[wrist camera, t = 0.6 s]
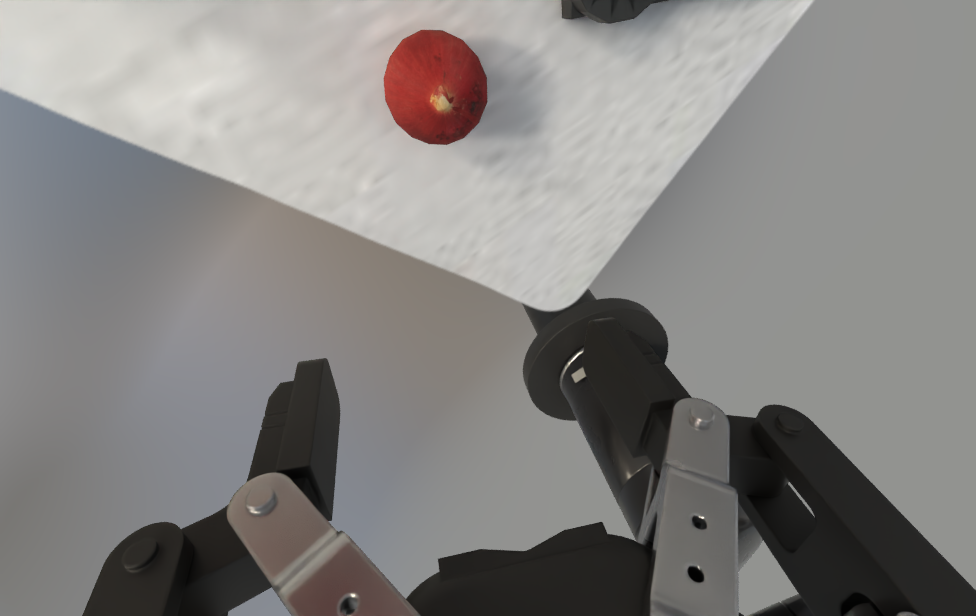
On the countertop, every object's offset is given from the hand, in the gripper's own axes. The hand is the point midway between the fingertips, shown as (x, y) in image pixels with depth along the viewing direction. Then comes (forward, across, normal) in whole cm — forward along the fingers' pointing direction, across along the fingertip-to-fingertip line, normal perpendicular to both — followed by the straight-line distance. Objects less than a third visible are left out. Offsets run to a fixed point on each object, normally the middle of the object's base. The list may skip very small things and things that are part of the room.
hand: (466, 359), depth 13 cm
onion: (+21, +2, +5) cm, 22 cm away
